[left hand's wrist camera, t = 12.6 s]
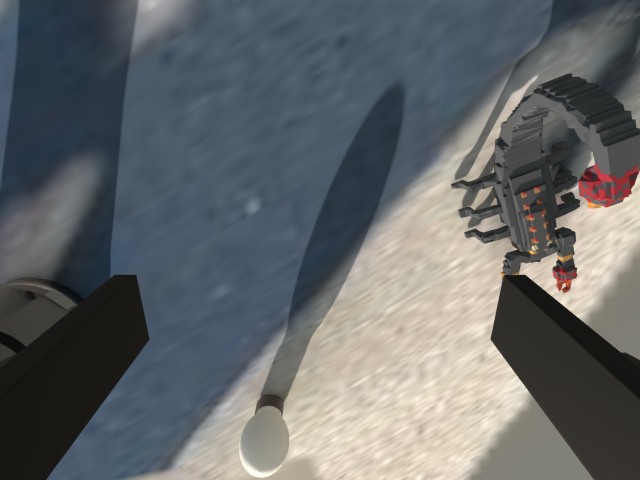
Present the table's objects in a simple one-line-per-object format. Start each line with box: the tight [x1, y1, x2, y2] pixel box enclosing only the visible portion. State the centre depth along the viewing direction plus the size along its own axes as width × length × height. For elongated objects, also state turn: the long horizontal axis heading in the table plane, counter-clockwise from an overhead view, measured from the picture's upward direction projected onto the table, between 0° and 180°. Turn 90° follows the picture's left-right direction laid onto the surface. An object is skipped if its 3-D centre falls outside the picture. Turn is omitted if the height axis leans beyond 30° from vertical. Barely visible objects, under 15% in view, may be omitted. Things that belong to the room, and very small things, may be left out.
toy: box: [451, 73, 640, 293], centre depth 35 cm, size 13×27×18 cm, turn 22°
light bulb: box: [239, 396, 289, 477], centre depth 50 cm, size 7×7×11 cm
